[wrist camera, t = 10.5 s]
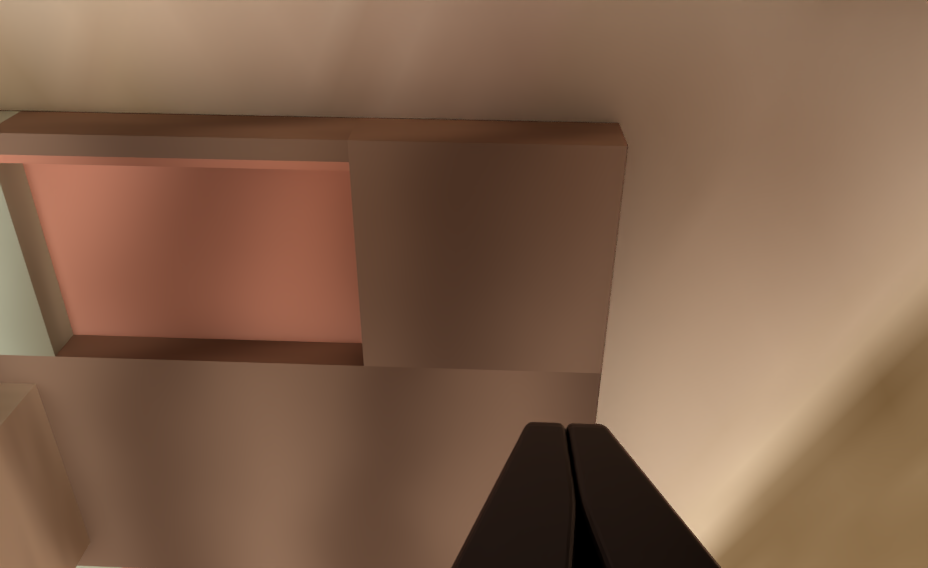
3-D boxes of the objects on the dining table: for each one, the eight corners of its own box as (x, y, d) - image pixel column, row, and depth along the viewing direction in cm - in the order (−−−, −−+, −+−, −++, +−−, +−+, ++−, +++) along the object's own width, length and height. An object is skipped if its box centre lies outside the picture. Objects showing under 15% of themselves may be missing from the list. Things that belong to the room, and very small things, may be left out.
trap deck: (618, 122, 18) (636, 167, 16) (559, 662, 28) (564, 738, 26) (-348, 103, 19) (-469, 143, 16) (-66, 635, 29) (-116, 706, 26)
